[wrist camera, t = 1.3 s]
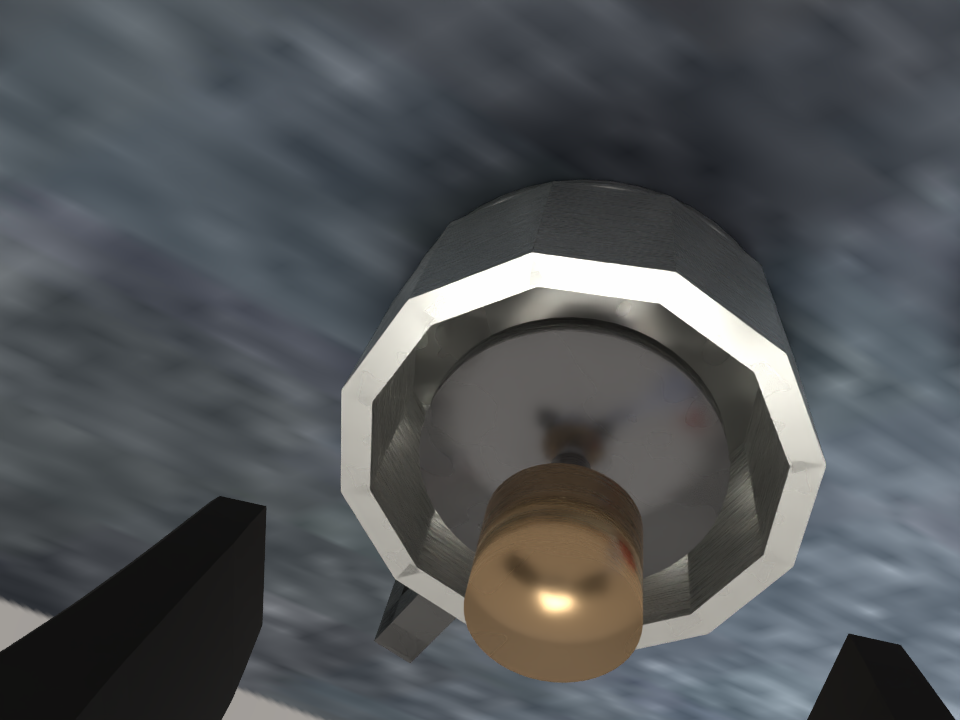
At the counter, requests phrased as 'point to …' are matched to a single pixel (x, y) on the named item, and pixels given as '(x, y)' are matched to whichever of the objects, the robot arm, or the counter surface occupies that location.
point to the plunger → (570, 486)
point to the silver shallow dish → (602, 296)
